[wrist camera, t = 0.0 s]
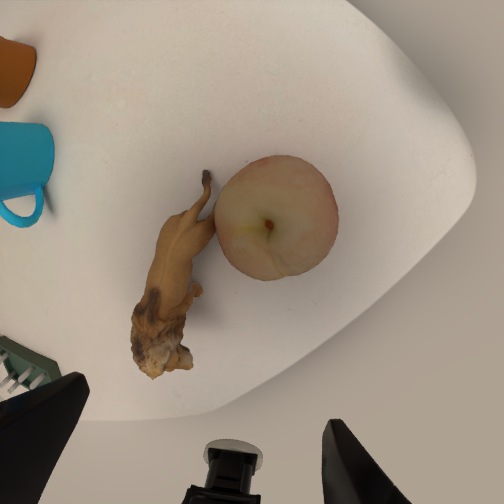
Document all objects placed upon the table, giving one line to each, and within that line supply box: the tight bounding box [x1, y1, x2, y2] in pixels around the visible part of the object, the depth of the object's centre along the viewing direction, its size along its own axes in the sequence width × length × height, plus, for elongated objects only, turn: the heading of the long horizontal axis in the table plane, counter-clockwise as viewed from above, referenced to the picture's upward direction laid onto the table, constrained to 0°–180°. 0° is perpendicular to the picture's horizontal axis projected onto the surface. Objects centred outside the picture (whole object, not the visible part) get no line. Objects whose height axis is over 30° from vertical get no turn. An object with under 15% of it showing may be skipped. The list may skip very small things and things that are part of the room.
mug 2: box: [0, 122, 54, 228], centre depth 19 cm, size 12×8×8 cm
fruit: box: [214, 156, 339, 281], centre depth 18 cm, size 8×8×8 cm
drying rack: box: [0, 336, 62, 394], centre depth 29 cm, size 8×15×6 cm, turn 86°
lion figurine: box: [131, 170, 217, 380], centre depth 20 cm, size 15×5×9 cm, turn 169°
